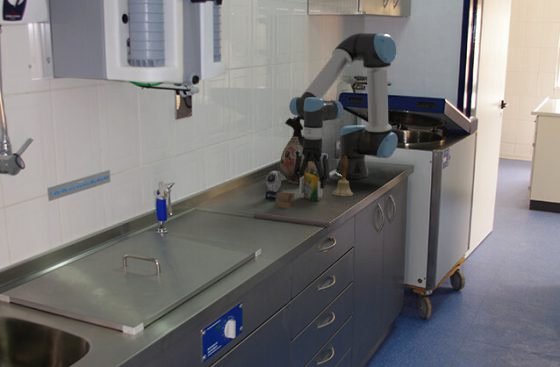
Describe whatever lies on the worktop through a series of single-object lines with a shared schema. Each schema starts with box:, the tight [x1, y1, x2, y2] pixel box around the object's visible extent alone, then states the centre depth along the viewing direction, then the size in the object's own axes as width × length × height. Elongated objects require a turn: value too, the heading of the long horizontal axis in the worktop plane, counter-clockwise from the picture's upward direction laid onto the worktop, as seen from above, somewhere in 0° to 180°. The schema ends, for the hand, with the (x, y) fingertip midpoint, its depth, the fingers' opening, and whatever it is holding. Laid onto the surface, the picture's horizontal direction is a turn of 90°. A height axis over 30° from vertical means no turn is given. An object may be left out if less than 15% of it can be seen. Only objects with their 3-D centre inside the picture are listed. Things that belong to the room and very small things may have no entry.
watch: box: [264, 170, 283, 201], centre depth 260 cm, size 6×8×11 cm
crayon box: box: [303, 168, 320, 202], centre depth 261 cm, size 7×3×12 cm, turn 24°
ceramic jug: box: [279, 115, 316, 185], centre depth 286 cm, size 17×15×30 cm
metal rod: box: [253, 212, 330, 228], centre depth 232 cm, size 2×27×2 cm, turn 69°
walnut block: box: [275, 190, 295, 210], centre depth 251 cm, size 5×5×5 cm
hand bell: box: [332, 156, 354, 197], centre depth 270 cm, size 8×8×16 cm
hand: (310, 194), depth 262 cm, fingers closed on crayon box, 7 cm apart
